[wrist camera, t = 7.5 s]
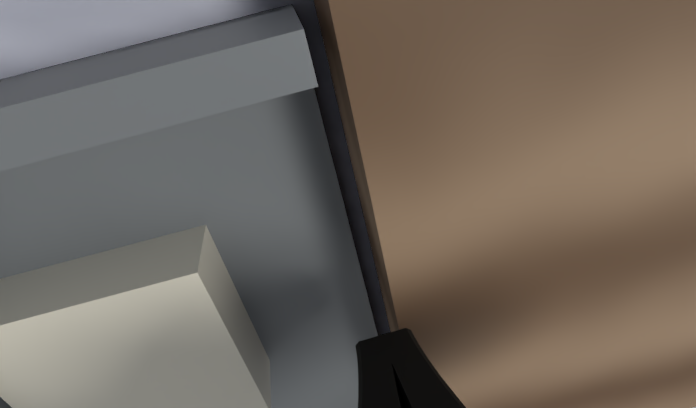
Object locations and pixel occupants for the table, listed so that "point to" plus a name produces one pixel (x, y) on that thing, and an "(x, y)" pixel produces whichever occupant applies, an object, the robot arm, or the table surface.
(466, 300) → the drawer casing
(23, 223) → the box
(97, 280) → the tile
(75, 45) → the table surface
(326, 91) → the table surface
